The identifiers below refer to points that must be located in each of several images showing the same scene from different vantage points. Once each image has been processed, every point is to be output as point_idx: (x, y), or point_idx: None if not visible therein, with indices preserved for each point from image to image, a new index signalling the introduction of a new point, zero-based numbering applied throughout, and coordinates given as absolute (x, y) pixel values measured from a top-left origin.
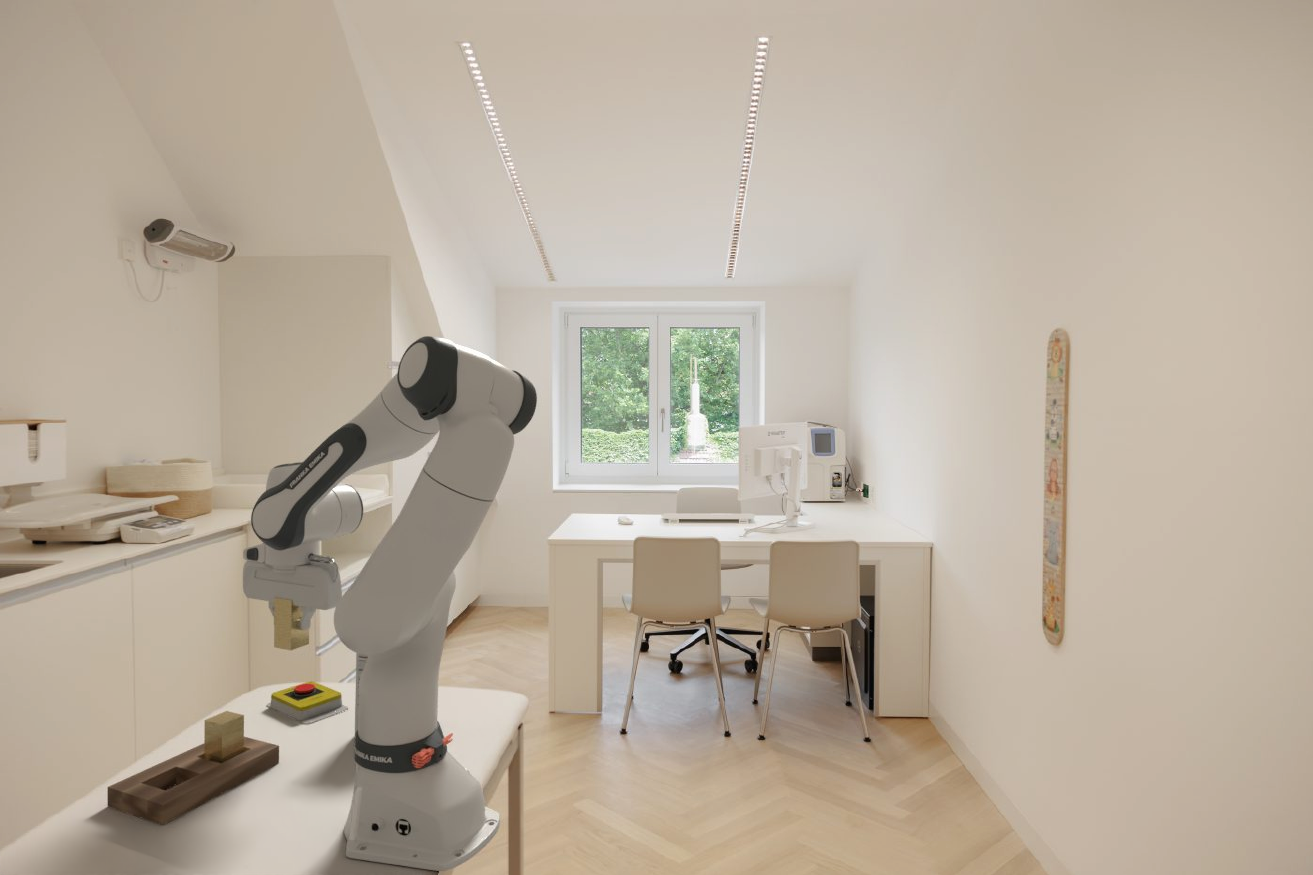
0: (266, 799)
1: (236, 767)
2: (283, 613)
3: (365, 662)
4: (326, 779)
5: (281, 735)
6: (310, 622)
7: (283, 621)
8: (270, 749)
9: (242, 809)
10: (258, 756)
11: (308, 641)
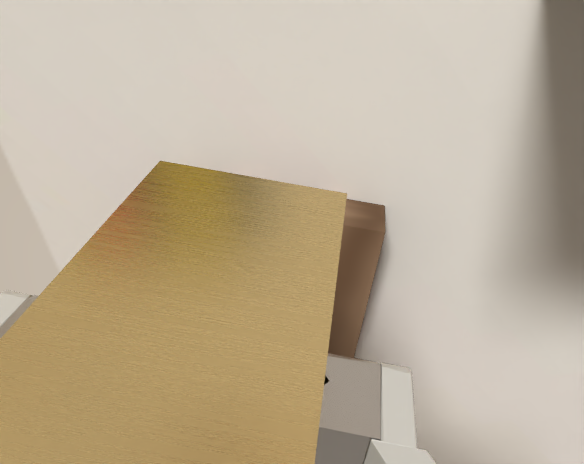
0: (471, 348)
1: (355, 347)
2: None
3: None
4: (581, 253)
5: (259, 43)
6: (414, 409)
7: None
8: (376, 257)
9: (443, 383)
10: (369, 293)
11: (343, 208)
